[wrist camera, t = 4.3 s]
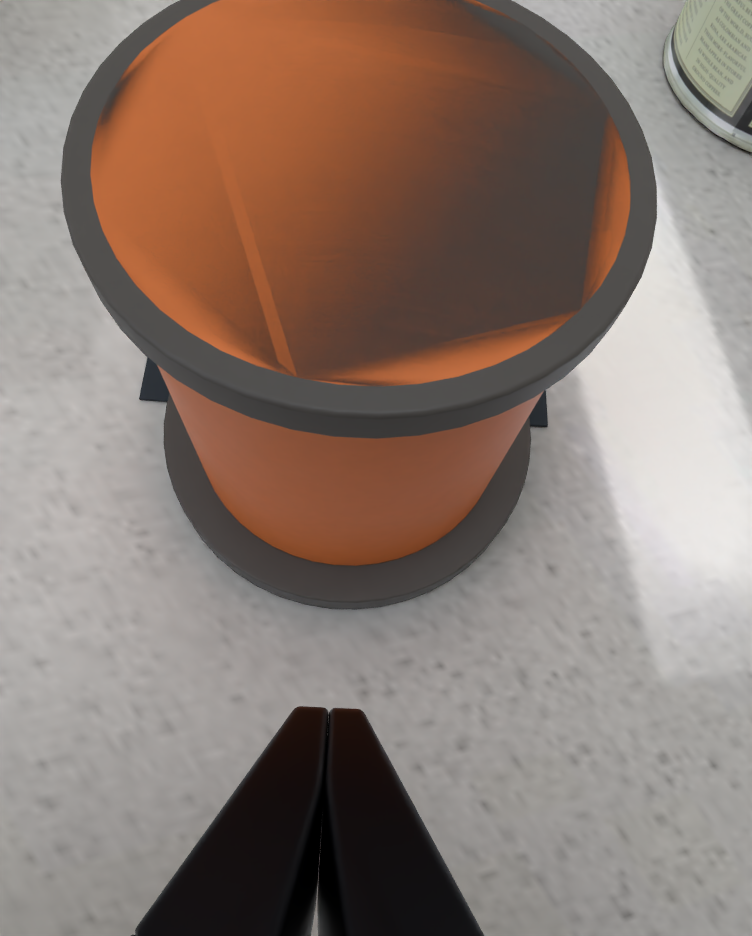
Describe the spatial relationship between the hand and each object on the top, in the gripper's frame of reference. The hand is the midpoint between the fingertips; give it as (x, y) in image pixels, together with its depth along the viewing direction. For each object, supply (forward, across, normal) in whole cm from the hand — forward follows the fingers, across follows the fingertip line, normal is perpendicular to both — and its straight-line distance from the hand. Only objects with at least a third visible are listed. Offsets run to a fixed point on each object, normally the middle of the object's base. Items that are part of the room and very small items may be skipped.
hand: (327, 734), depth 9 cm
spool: (+14, 0, +1) cm, 14 cm away
